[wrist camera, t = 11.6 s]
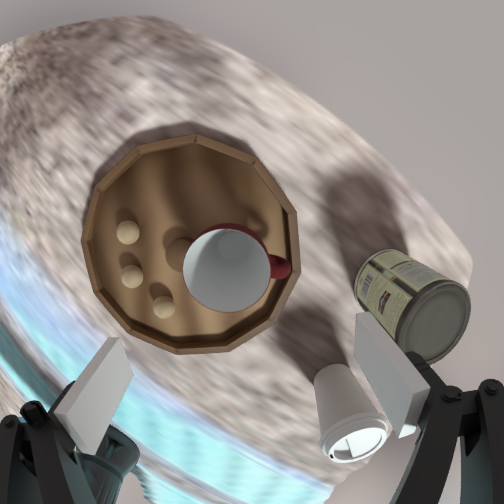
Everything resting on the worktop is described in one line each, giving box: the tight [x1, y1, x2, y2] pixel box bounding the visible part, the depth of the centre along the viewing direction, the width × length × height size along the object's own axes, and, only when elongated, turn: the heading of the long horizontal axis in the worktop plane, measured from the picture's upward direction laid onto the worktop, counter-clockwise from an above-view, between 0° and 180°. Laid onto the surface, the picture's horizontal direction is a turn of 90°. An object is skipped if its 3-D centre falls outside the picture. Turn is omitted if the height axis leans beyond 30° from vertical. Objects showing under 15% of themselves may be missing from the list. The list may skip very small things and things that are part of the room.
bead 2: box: [121, 265, 143, 288], centre depth 34 cm, size 3×3×3 cm
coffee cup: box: [314, 364, 388, 463], centre depth 35 cm, size 10×10×15 cm
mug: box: [182, 223, 291, 313], centre depth 30 cm, size 10×8×10 cm
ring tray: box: [81, 134, 301, 355], centre depth 35 cm, size 28×28×3 cm
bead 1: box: [116, 220, 139, 245], centre depth 33 cm, size 3×3×3 cm
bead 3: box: [153, 296, 175, 319], centre depth 35 cm, size 3×3×3 cm
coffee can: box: [354, 249, 471, 365], centre depth 31 cm, size 10×10×14 cm
